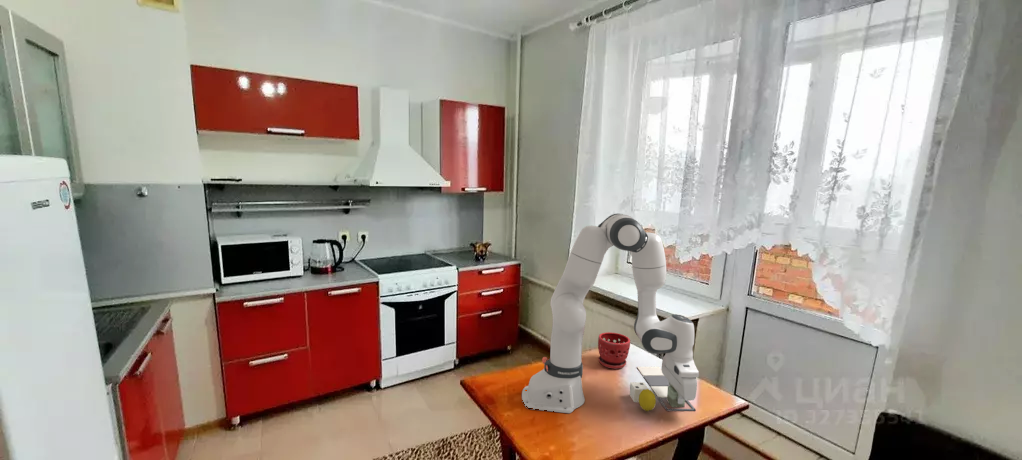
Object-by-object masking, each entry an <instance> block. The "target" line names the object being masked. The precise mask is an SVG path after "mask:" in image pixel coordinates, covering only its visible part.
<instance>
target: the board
mask: <svg viewBox="0 0 1022 460" xmlns="http://www.w3.org/2000/svg"><path fill="white" fill-rule="evenodd" d="M636 368H637V370H638V371H639V373H641V376H642V377H643V378H644V380H645V381H646V383H647V384H648V385H649V387H650V388H651V389H652V390H651V391H652V392H653V393H654V395H655V396H656V397H657V400H658V401H659V403H661V405H662V406H663V408H664V409H665V411H666V412H695V411H696V408H695V407H694V406H693V405H692V403H691V402H690V400H685V403H687V405H688V406H689V407H690V408H668V407H667V405H666V404H665V403H664V401H663V400H662V399H667V392H668V386H669V383H668V380H667V378H666V377H665V376H664V375H663V373H662V370H661V368H662V367H660V366H637V367H636Z"/></svg>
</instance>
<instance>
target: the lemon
mask: <svg viewBox="0 0 1022 460" xmlns="http://www.w3.org/2000/svg"><path fill="white" fill-rule="evenodd" d="M656 403H657V399H656V394H655V392H654V391H653V390H651V389H649V388H648V389H645V390H643V391H641V393H640V395H639V402H638V404H639V406H640V408H641V409H642V410H644V411H645V412H649V411H653V409H654V408H655V407H656Z"/></svg>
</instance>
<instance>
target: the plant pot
mask: <svg viewBox="0 0 1022 460" xmlns="http://www.w3.org/2000/svg"><path fill="white" fill-rule="evenodd" d="M614 341H615V342H614ZM630 347H631V339H630V338H629V337H628V336H627V335H625V334H621V333H618V332H609V331H607V332H602V333H600V334H598V338H597V349H598V354H599V356H598V358H597V359H598V362H599V363H600V365H601V366H602V367H605V368H609V369H616V370H617V369H622V368H624V367H625V366H626V365H627V361H626V360H627V358H628V356H629V352H630V351H629V350H630Z"/></svg>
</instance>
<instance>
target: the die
mask: <svg viewBox="0 0 1022 460" xmlns="http://www.w3.org/2000/svg"><path fill="white" fill-rule="evenodd" d="M629 386H630V387H629V396H630V398H631V400H632V401H633V402H634V403H639V395H640V393H641V391H643V390H645V389H649V387H648V385H646V383H645V382H643V381H642V382H641V381H630V385H629Z"/></svg>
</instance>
